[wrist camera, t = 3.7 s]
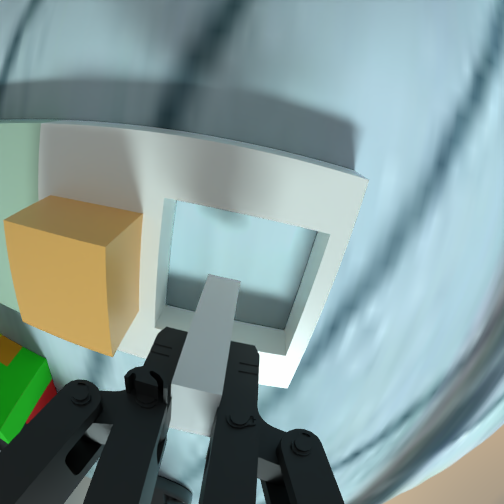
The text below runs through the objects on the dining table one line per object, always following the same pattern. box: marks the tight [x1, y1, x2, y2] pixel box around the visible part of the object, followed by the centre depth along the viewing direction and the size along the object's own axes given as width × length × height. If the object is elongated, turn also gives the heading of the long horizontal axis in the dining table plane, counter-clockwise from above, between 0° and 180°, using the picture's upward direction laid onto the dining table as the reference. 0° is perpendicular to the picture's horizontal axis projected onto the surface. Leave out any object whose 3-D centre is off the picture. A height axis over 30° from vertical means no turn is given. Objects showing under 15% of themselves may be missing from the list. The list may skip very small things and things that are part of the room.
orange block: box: [3, 195, 143, 357], centre depth 13 cm, size 6×6×4 cm
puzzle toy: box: [0, 334, 57, 451], centre depth 21 cm, size 10×10×10 cm
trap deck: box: [0, 119, 369, 388], centre depth 16 cm, size 14×34×2 cm, turn 78°
